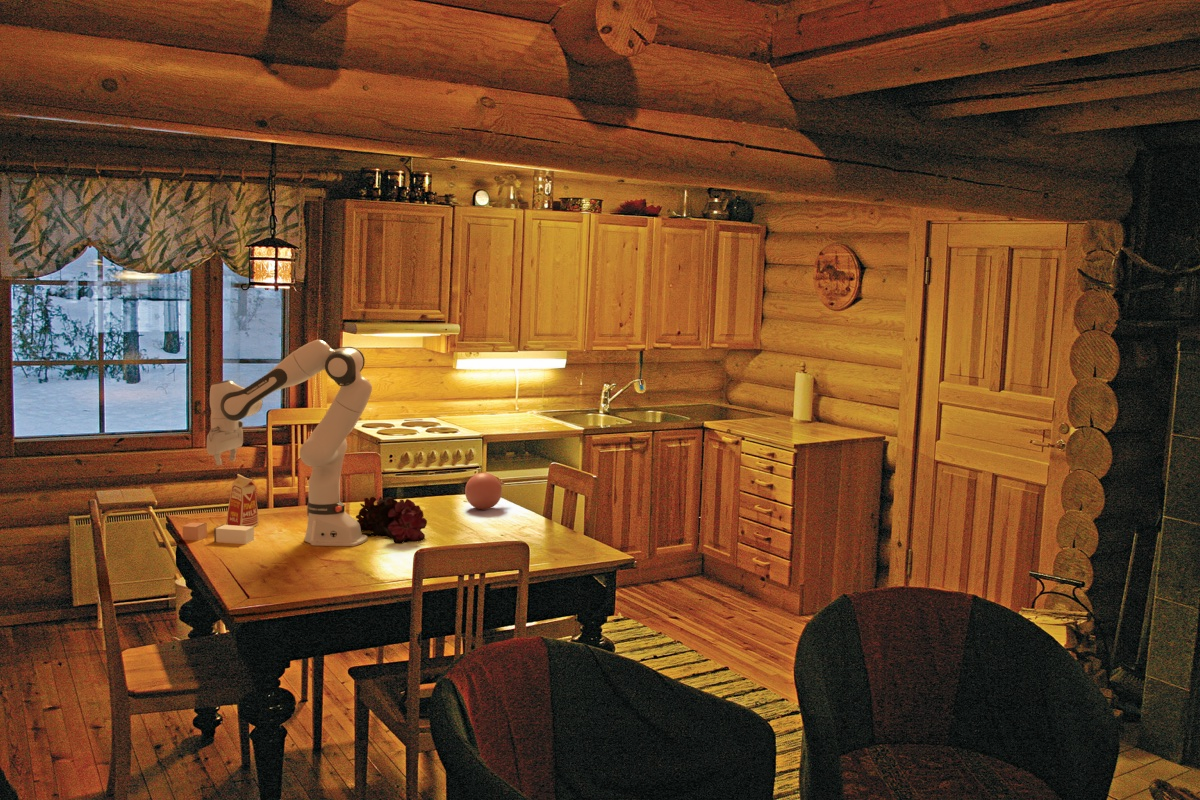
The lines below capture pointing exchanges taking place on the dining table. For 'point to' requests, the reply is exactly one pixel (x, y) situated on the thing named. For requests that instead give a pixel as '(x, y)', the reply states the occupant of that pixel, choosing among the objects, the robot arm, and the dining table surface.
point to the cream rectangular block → (233, 534)
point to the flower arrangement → (392, 519)
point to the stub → (194, 531)
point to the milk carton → (242, 503)
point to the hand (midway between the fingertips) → (225, 463)
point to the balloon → (483, 491)
